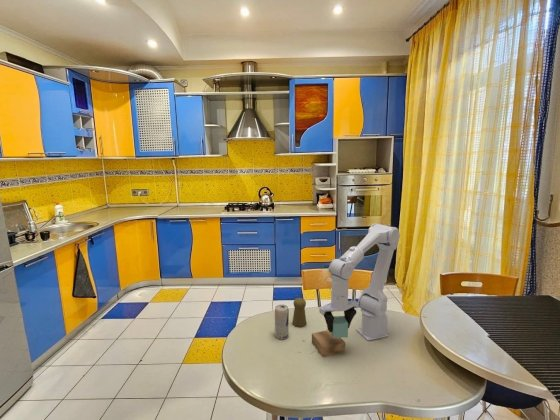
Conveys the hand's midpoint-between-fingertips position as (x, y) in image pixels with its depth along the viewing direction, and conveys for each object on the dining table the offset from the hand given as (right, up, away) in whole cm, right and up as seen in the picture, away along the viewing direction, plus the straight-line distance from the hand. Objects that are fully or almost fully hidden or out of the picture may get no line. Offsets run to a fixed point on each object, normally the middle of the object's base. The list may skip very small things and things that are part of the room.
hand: (338, 328), depth 108 cm
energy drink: (-20, -7, +11) cm, 24 cm away
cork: (-13, -6, +20) cm, 24 cm away
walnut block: (-3, -9, +4) cm, 10 cm away
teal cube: (0, -2, 0) cm, 2 cm away
